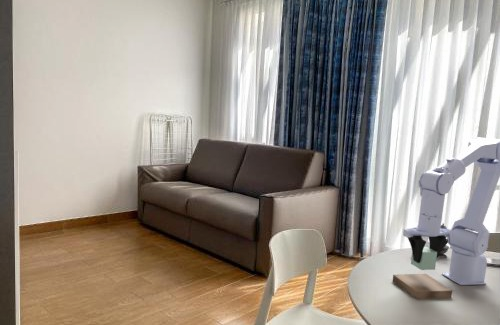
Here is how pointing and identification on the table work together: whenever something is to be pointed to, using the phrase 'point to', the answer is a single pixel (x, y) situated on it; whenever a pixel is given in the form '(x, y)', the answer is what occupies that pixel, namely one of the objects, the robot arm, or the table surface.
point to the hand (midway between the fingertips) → (424, 261)
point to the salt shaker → (444, 246)
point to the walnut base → (422, 286)
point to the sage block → (426, 259)
